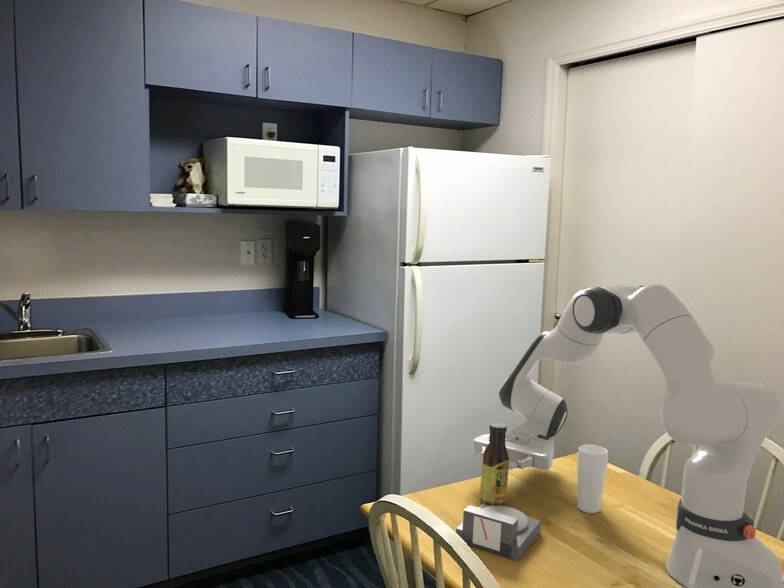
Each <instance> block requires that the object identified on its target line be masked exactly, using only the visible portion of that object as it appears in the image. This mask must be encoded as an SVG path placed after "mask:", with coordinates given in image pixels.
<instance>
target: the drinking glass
mask: <svg viewBox="0 0 784 588" xmlns="http://www.w3.org/2000/svg"><path fill="white" fill-rule="evenodd" d="M608 451H609V450H608V449H606V448H605V447H603V446H600V445H597V444H582V445H580V446H578V452H577V460H576V461H577V463H576V464H577V469H576V470H577V471H576V472H577V473H576V474H577V501H576V502H577V505H576V506H577V509H578V510H580V512H583V513H586V514H596V513H599V512H600V511H601V507H602V506H601V505H602V504H601V503H602V498H603V497H602V496H603V493H604V492H603V491H604V485H605V481H606V476H607V468H608V460H609V459H608V458H609V455H608V454H609V452H608Z"/></svg>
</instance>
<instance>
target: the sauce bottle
mask: <svg viewBox="0 0 784 588" xmlns="http://www.w3.org/2000/svg"><path fill="white" fill-rule="evenodd" d="M507 429H508V426H507V425H506V424H505V423H501V422H491V423H490V424H489V434H490V439H489V444H488V445H487V446H486V448H485V450H484V454H483V460H482V464H481V477H480V478H481V479H480V491H479V494H480V495H479V497H480V498H479V500H480V505H481V504H484V505H488V506H506V501H507V493H508V481H509V480H508V478H509V465H510V462H509V456H508V452H507V449H506V445H505V435H506V434H507V432H508V431H507Z"/></svg>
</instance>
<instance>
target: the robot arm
mask: <svg viewBox="0 0 784 588" xmlns="http://www.w3.org/2000/svg"><path fill="white" fill-rule="evenodd" d="M631 333H637V334H638V335H639V337H640V339H641V340H642V342H643V344H644V345H645V347H646V349H647V350H648V352H649V354H650V356H651V357H652V359H653V360H654V362H655V364H656V367H657V368H658V370H659V371H660V374H661V375H662V379H663V382H664V386H665V399H664V401H663V403H662V406H661V410H660V411H661V412H660V418H661V419H660V420H661V423H662V426H663V429H664V431H665V432H666V434H667V435H668V436H669V437H670V438H671V439H672V440H673V441H675V442H676V443H678V444H682V445H688V446H697V447H698V448H697V450H696V451H695V452H694V453H693V454H692V455H691V456H690V457H689V458H688V459H687V461H686V463H685V465H684V469H683V479H682V487H681V498H680V499H679V501H678V504H677V508H676V515H675V516H676V518H675V524H676V525H675V527H676V533H675V537H674V541H673V543H672V548H671V551H670V553H669V556H668V558H667V561H666V562H665V569H666V571H667V573H668V574H669V575H670V577H671V578H673V579H674V580H675V581H677V582H678V583H680V584H681V585H683V586H684V587H685V588H784V575H783V571H782V568H781V567H782V566H781V565H780V561H779V559H778V557H777V555H776V554H775V553H774V552H773V551H772V550H771V549H770V548H769V547H768V546H766V545H765V544H764V543H763V542H762V541H761V540H760V539H759V538H758V537H757V536H756V532H757V530H756V528H755V521H754V520H753V519H754V518H753V515H752V514H751V513H750V515H748V514H746V512H744V507H745V499H746V493H747V485H748V480H749V476H750V472H751V470H752V468H753V467H752V466H753V465H754V462H755V460H756V458H757V455H758V453H759V451H760V449H761V447H762V445H763V443H764V441H765V440H766V438H767V436H768V435H769V434H770V433H771V432H772V430H773V429H775V428H776V426H778V424H779V423H780V420H781V417H782V404H781V402H780V400H779V398H778V396H777V395H776V393H775V392H774V391H773V390H772V389H771V388H770V387H768V386H767V385H766V386H765V385H764V384H760V383H756V382H748V381H740V380H739V381H732V382H724V383H719V381H718V380H717V379H716V378H715V376H714V374H713V372H712V371H713V370H712V367H711V364H712V361H713V359H714V357H715V348H714V346H713V344H712V343H711V341H710V340H709V338H708V337H707V335H706V333H704V331H703V330H702V328H701V326H699V324H698V322H697V320H696V319H695V318H694V316H693V315H692V314H691V312H690V311H689V309H688V308H687V307H686V306H685V304H683V302H682V301H681V300H680V299H679V298H678V297H677V295H675V294H674V292H672V291H671V290H670V289H669V288H668V287H667V286H665V285H662V284H659V283H652V284H651V283H650V284H647V285H642V284H641V285H627V284H626V285H624V284H623V285H622V284H612V285H604V286H592V287H588V288H585V289H582V290H578V291H577V292H576V293H575V294H574V295H573V296H572V298H571V299H570V300H569V302H568V303H567V305H566V307H565V308H564V310H563V312H562V314H561V316H560V318H559V320H558V323H557V325H556V326H555V327H554V328H553V329H551V330H549V331H547V330H546V331H543V332H541V333H540V334H538V336H537V337H536V338H535V339H534V340H533V342H532V343H531V345H530V346H529V348H528V349H527V350H526V352H525V353H524V354H523V356H522V357H521V359H520V360H519V362H518V363H517V364H516V366H515V368H514V369H513V371H512V372H511V374H510V375H509V376H508V377H507V378H506V379H505V380H504V382H503V383H502V384H501V386H500V387H499V392H498V396H499V400H500V403H501V404H502V406H503V407H505V408H507V409H508V410H511V411H512V412H515V413H517V414H518V415H520V416H521V417H523V418H525V419H524V420H522V421H520V423H518V425H516V426H514V427H513V428H512V429H510V430H509V431H507V432H506V435H505V445H506V449H507V452H508V456H509V463H514V464H516V468H517V469H520V470H524V469H525V468H535V469H538V470H542V471H547V470H550V469H551V467H552V465H553V461H554V456H555V455H554V453H555V443H554V442H555V441H554V439H553V437H555V436H556V435H557V434H558V433H559V432H560V430H561V429H562V427H563V426H564V424H565V422H566V419H567V417H568V414H569V413H568V406H567V405H568V404H567V403H566V402H567V401H566V400H565V398H563V397H562V396H561V395H558V394H557V393H555V392H553V391H551V390H549V389H547V388H546V387H544V386H542V385H541V384H539V383H537V382H536V381H534V380H533V379H532V378H531V375H532V372H533V371H534V370H535V368H536V366H537V365H538V364H539V362H540V361H543V360H544V361H553V362H559V363H562V364H570V365H571V364H579V363H583V362H586V361H587V360H589V359H591V358H592V357H593V355H594V353H595V352H596V351H597V349H598V347H599V346H600V344H601V342H602V339H603V337H604V334H621V335H625V334H631ZM489 439H490V433H486V434H482V435H479V436H477V437H475V438H474V439H473V440H472V445H471V447H472V448H471V449H472V452H473V454H475V455H478V456H480V460H482V461H483V454H484V450H485V448H486V446H487V445H488V444H489Z"/></svg>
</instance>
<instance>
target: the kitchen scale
mask: <svg viewBox="0 0 784 588" xmlns="http://www.w3.org/2000/svg"><path fill="white" fill-rule="evenodd" d="M462 518H463V519H462V523H460V524H459V525H458V526H457V527H456V529H455V534H456V533H457V534H458V535H459V536H460V537H461V538H462V539H463V540H464V541H465V542H466V543H467V544H468V545H469V547H472V548H474V547H475V549H478V548H479V549H478V550H481V551H484V552H488V553H490V554H494V555H496V556H500V557H504V558H506V559H510V560H513V561H517V562H519V561H520V559H521V558H522V557H523V555H524V554H525V553H526V551H528V549H529V548H530V546H531V545H532V544H533V543H534V541H535V540H536V539H537V538H538V536H539V535H540V534H541V528H542V527H541V526H542V525H541V524H542V520H541V519H538V518H535V517H532V516H527V515H526V514H525V513H524V512H522V511H520V510H519V509H516V508H514V507H510V506H506V505H505V506H488V505H484V504H481V503H480V505H479V506H474V505H472V504H469V505H468V506H466V508H464V509H463V515H462ZM468 545H467V546H468Z"/></svg>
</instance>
